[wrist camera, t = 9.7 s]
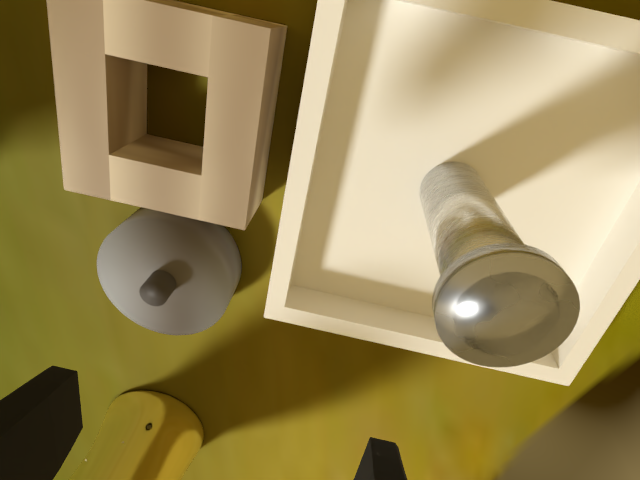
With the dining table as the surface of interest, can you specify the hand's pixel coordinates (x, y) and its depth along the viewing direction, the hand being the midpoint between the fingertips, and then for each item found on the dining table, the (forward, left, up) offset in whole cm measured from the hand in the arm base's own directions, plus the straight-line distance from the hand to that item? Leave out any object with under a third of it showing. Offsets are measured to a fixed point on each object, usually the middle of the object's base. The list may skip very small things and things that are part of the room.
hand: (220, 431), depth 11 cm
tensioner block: (-5, +2, -10) cm, 12 cm away
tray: (+6, +4, -10) cm, 13 cm away
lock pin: (+6, +4, -10) cm, 12 cm away
